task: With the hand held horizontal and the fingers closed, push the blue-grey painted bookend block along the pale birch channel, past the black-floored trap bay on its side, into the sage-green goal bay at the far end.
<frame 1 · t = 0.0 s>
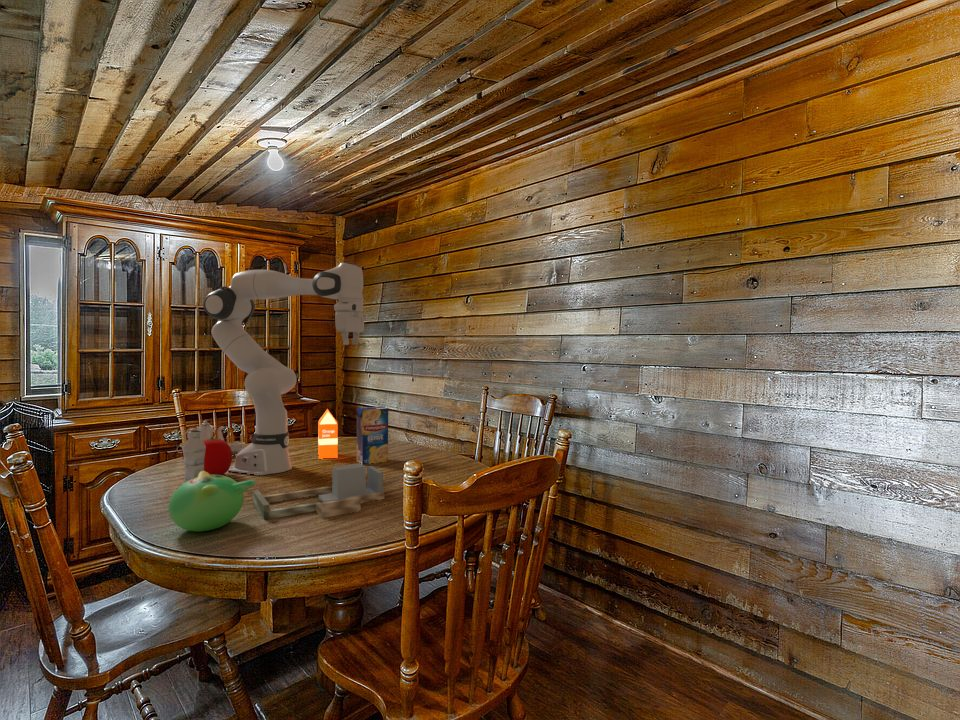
hand: (350, 344, 193), 48 cm above the table, tool pointing down, fingers open, 8 cm apart
bookend block: (350, 497, 167), on the table
blue food box: (372, 462, 214), on the table
plastic bottle: (194, 493, 168), on the table
toy bird: (209, 529, 138), on the table
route: (325, 500, 163), on the table
chinaware: (208, 458, 217), on the table
tomato: (213, 476, 189), on the table
orange juice: (327, 457, 221), on the table
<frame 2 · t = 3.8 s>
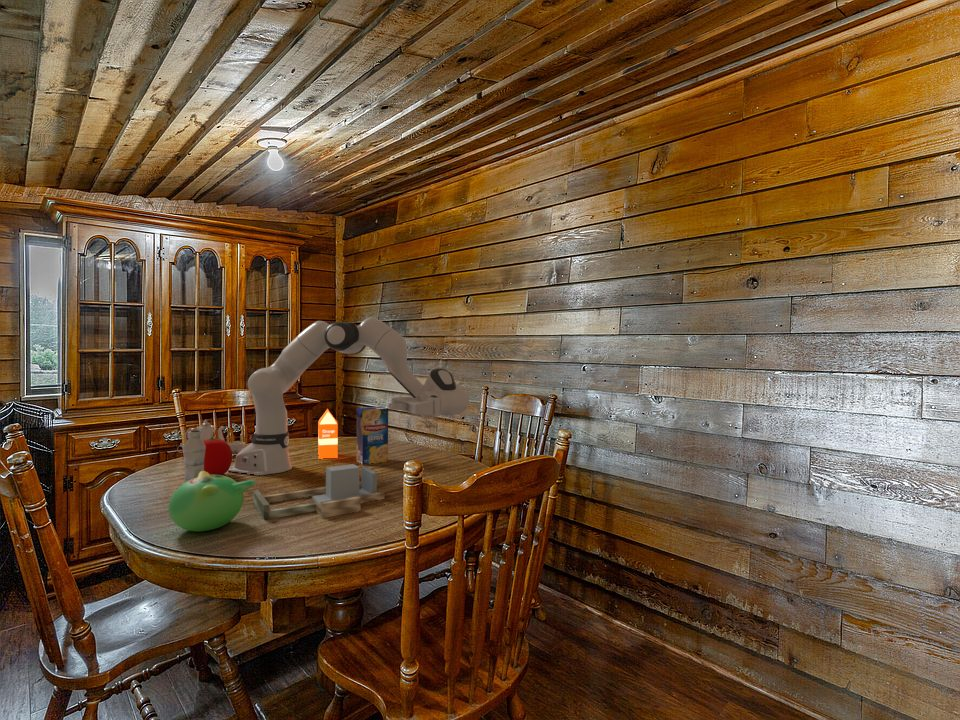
hand: (389, 406, 173), 28 cm above the table, tool horizontal, fingers closed
bookend block: (344, 498, 166), on the table
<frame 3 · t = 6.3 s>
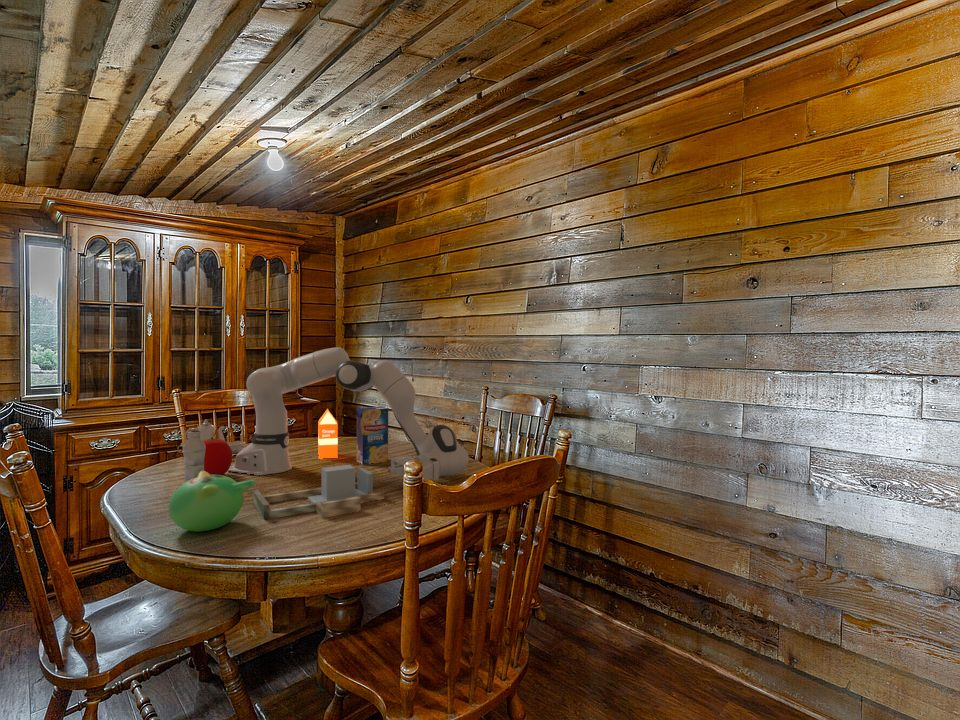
hand: (389, 470, 174), 7 cm above the table, tool horizontal, fingers closed
bookend block: (339, 499, 165), on the table
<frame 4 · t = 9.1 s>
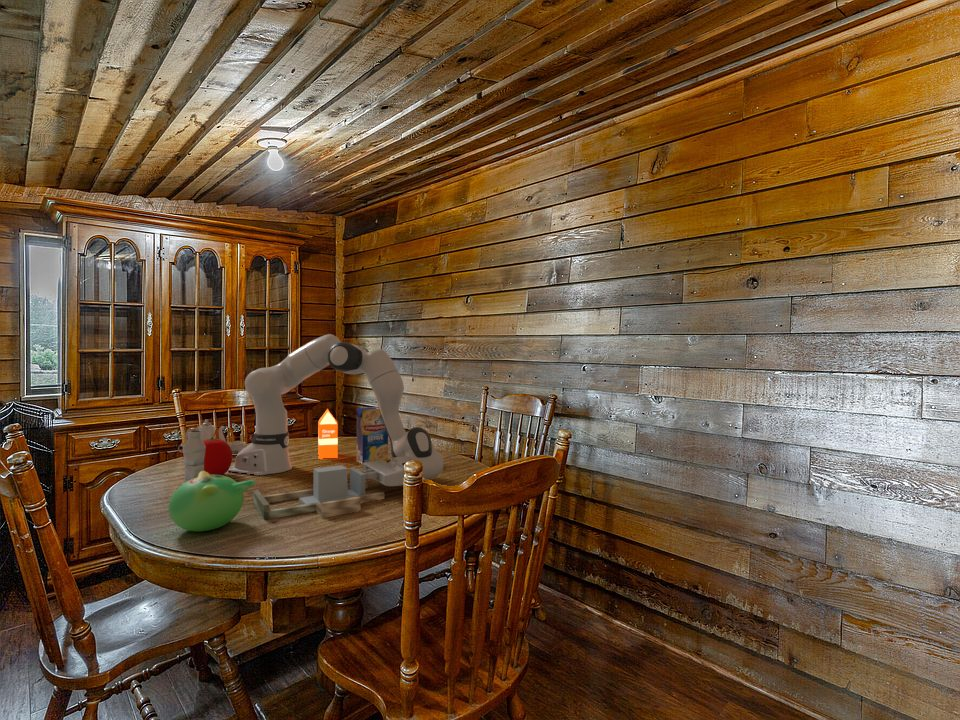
hand: (359, 475, 168), 6 cm above the table, tool horizontal, fingers closed
bookend block: (331, 500, 164), on the table
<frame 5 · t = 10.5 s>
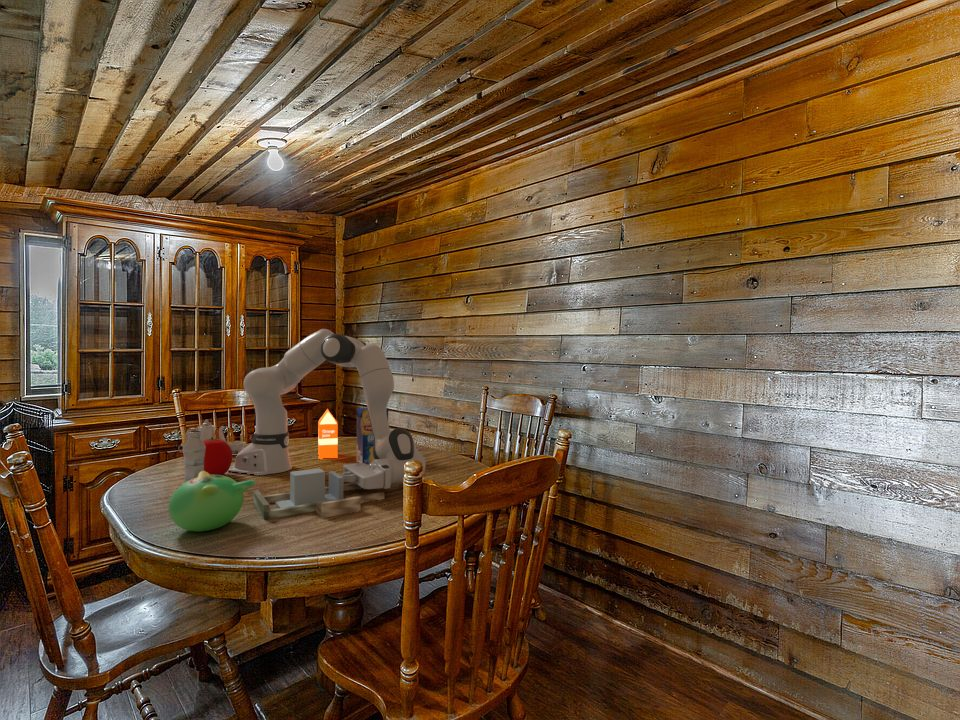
hand: (338, 478, 164), 6 cm above the table, tool horizontal, fingers closed, pressing on bookend block
bookend block: (309, 504, 159), on the table, touching gripper
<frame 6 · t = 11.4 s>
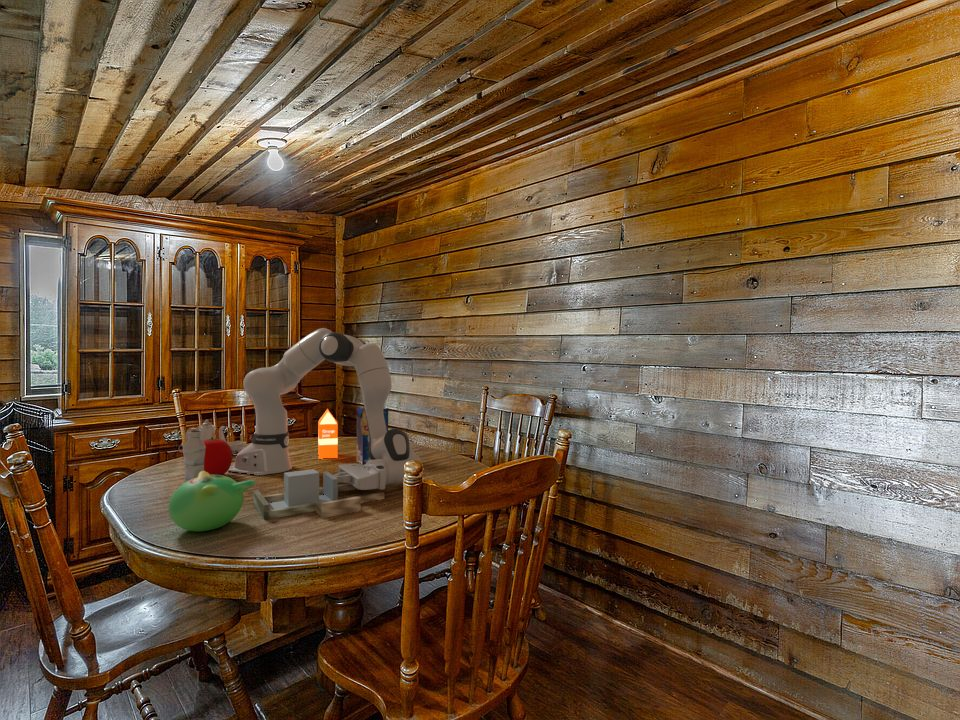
hand: (332, 478, 163), 7 cm above the table, tool horizontal, fingers closed
bookend block: (303, 505, 158), on the table
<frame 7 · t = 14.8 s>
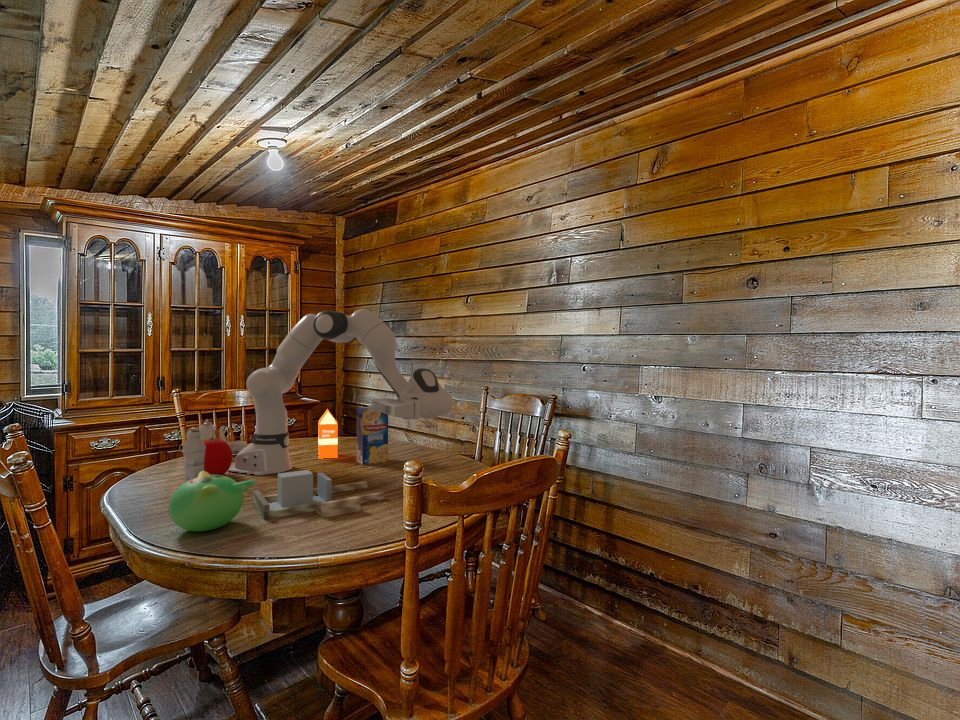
hand: (369, 408, 169), 28 cm above the table, tool horizontal, fingers closed
bookend block: (297, 506, 157), on the table
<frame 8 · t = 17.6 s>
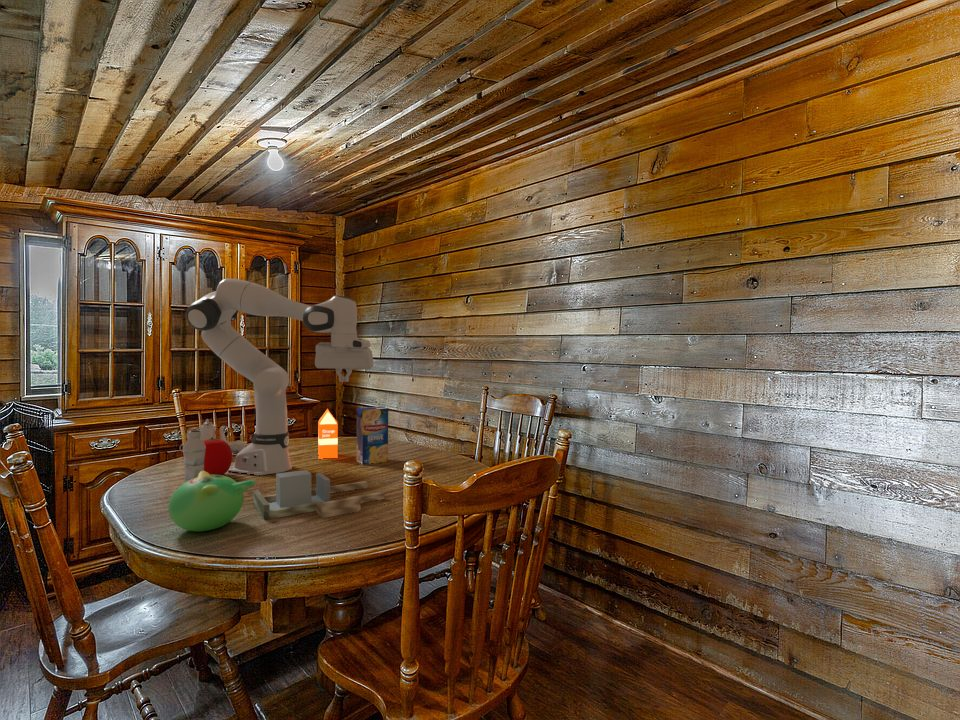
hand: (343, 381, 184), 35 cm above the table, tool pointing down, fingers closed
at the end: bookend block inside the target area (4.5 cm from its centre), on the table; bookend block tilted 0°; bookend block moved 17.2 cm from its start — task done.
